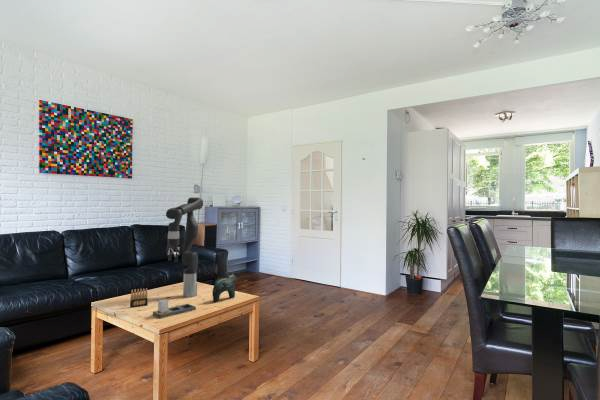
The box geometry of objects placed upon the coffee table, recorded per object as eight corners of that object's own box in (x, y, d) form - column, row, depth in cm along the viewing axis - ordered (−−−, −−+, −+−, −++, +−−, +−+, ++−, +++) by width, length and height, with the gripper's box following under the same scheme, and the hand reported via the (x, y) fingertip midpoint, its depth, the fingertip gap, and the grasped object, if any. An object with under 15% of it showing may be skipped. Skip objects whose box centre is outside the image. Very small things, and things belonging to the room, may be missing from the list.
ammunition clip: (130, 307, 221) (130, 289, 222) (129, 307, 223) (130, 289, 223) (147, 305, 227) (148, 287, 228) (147, 304, 229) (147, 287, 229)
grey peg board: (187, 306, 226) (187, 303, 226) (195, 309, 220) (195, 306, 220) (152, 314, 208) (152, 311, 208) (160, 318, 202) (160, 314, 202)
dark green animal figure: (232, 296, 255) (233, 270, 255) (238, 297, 251) (238, 271, 251) (210, 301, 239) (211, 273, 240) (216, 303, 235) (217, 275, 236)
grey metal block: (164, 313, 211) (165, 299, 211) (168, 315, 208) (168, 300, 208) (157, 315, 208) (158, 300, 208) (161, 316, 205) (161, 302, 205)
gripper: (184, 238, 228) (183, 262, 227) (173, 236, 237) (172, 259, 236) (173, 238, 222) (173, 263, 222) (163, 237, 231) (162, 260, 231)
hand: (172, 261), depth 229 cm, fingers open, 8 cm apart
